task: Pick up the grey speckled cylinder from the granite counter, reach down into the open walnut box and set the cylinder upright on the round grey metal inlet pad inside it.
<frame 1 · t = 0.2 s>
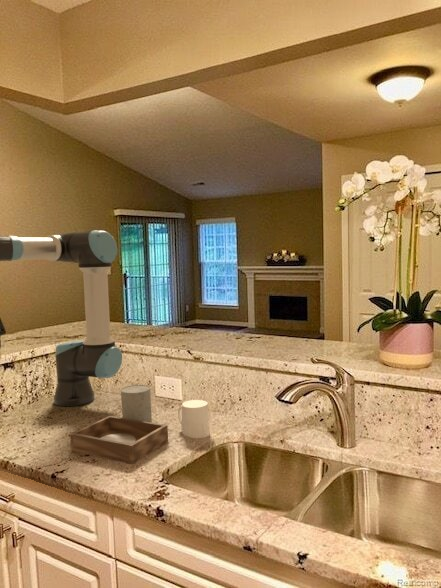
grey speckled cylinder: (137, 426, 161), on the worktop
mug: (193, 432, 154), on the worktop
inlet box: (120, 446, 145), on the worktop
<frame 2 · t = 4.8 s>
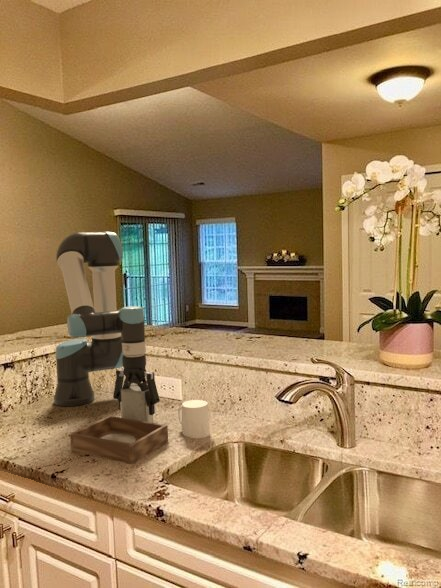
hand: (137, 422, 161), 1 cm above the worktop, fingers closed on grey speckled cylinder, 9 cm apart
grey speckled cylinder: (137, 426, 161), on the worktop, touching gripper
everything else where it was.
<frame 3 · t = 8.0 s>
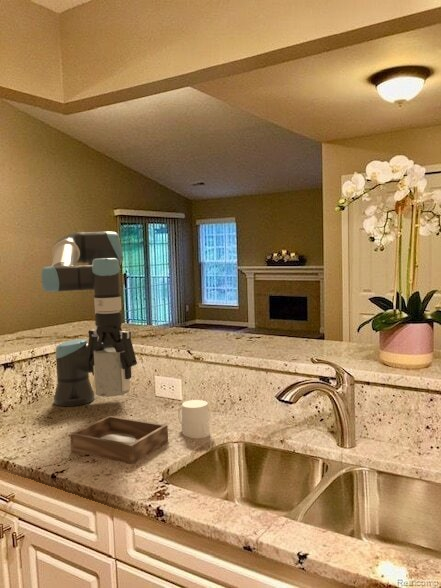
hand: (112, 388, 144), 17 cm above the worktop, fingers closed on grey speckled cylinder, 9 cm apart
grey speckled cylinder: (112, 392, 144), point 16 cm above the worktop, touching gripper
everything else where it was.
when the fingers open (4 cm above the worktop, at t = 11.3 s): grey speckled cylinder drops 1 cm, resting on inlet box.
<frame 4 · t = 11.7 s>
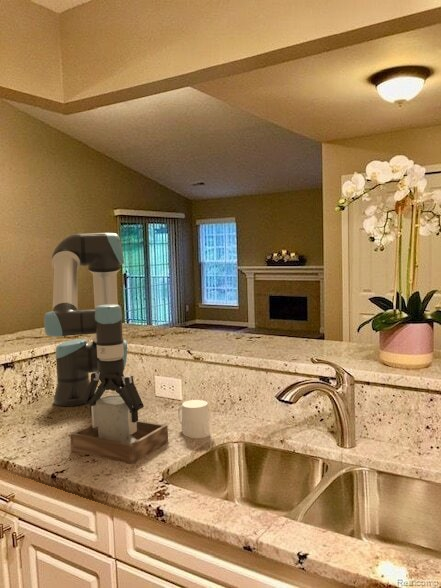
hand: (114, 429, 145), 5 cm above the worktop, fingers open, 13 cm apart
grey speckled cylinder: (115, 441, 145), point 1 cm above the worktop, touching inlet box
everything else where it was.
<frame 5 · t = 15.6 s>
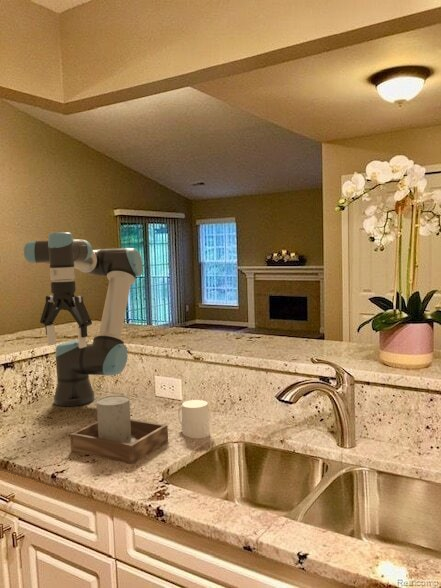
hand: (66, 346, 160), 27 cm above the worktop, fingers open, 13 cm apart
nothing on the worktop moved.
at the end: grey speckled cylinder inside the target area on the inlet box (0.1 cm from its centre), point 1.0 cm above the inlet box's base; grey speckled cylinder tilted 0°; the gripper is holding nothing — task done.
